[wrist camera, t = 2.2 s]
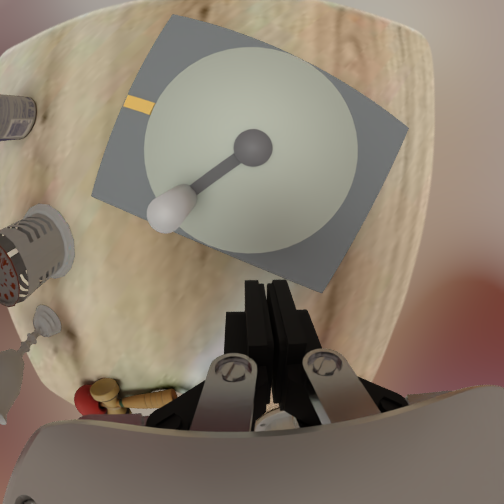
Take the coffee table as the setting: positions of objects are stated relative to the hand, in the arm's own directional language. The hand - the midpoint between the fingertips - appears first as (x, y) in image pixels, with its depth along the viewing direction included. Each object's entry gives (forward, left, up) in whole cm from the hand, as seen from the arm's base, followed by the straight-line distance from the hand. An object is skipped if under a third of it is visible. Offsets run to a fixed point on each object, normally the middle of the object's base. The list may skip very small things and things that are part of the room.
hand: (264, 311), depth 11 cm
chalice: (+21, +25, -17) cm, 37 cm away
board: (+3, -6, -17) cm, 18 cm away
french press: (+23, +13, -17) cm, 31 cm away
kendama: (+6, +33, -17) cm, 37 cm away
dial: (+3, -6, -15) cm, 16 cm away
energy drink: (+31, -1, -17) cm, 35 cm away
